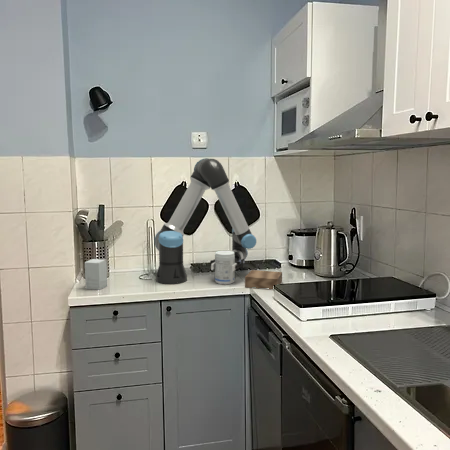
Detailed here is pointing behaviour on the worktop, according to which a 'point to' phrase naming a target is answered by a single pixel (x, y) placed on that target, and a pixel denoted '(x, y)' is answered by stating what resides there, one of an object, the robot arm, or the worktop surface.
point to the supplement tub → (224, 267)
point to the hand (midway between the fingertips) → (222, 267)
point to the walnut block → (262, 279)
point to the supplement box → (95, 274)
